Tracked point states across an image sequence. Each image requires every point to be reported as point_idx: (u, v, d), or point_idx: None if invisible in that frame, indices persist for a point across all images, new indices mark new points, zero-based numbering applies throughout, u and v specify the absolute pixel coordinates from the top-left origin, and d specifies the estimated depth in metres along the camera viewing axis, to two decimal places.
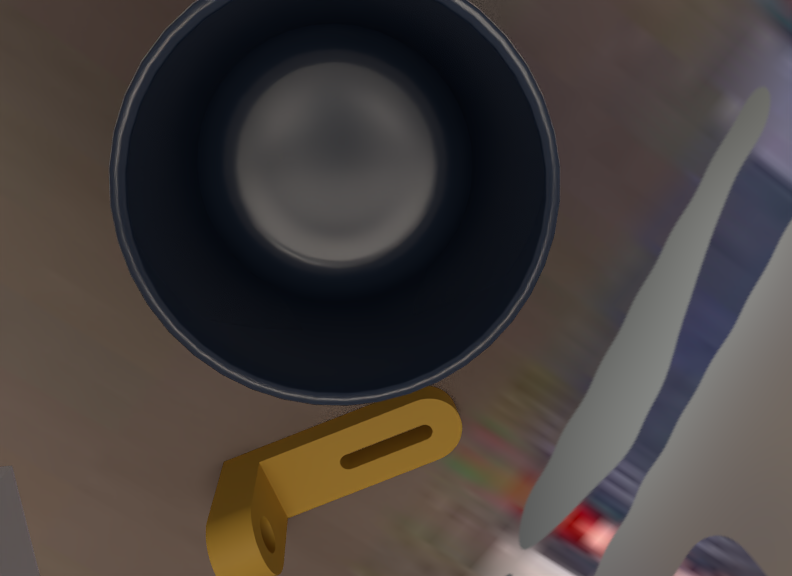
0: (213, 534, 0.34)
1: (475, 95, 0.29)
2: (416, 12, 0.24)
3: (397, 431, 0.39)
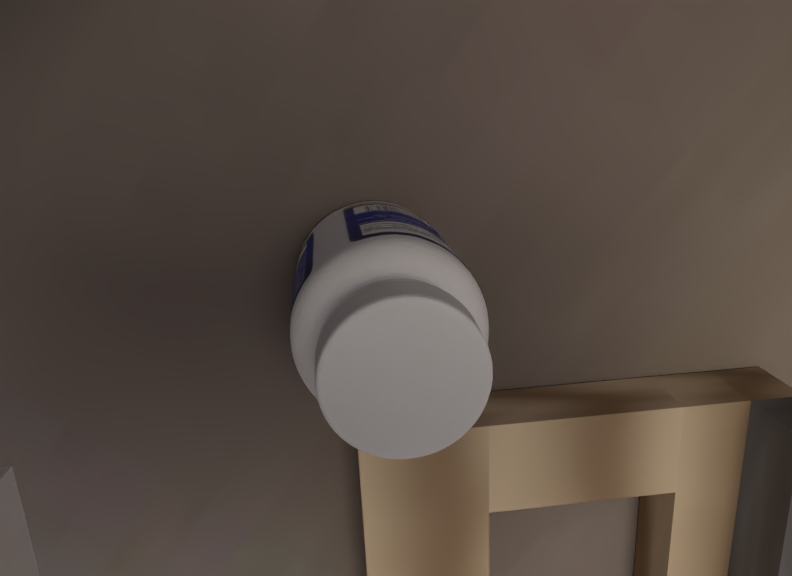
0: None
1: None
2: None
3: None
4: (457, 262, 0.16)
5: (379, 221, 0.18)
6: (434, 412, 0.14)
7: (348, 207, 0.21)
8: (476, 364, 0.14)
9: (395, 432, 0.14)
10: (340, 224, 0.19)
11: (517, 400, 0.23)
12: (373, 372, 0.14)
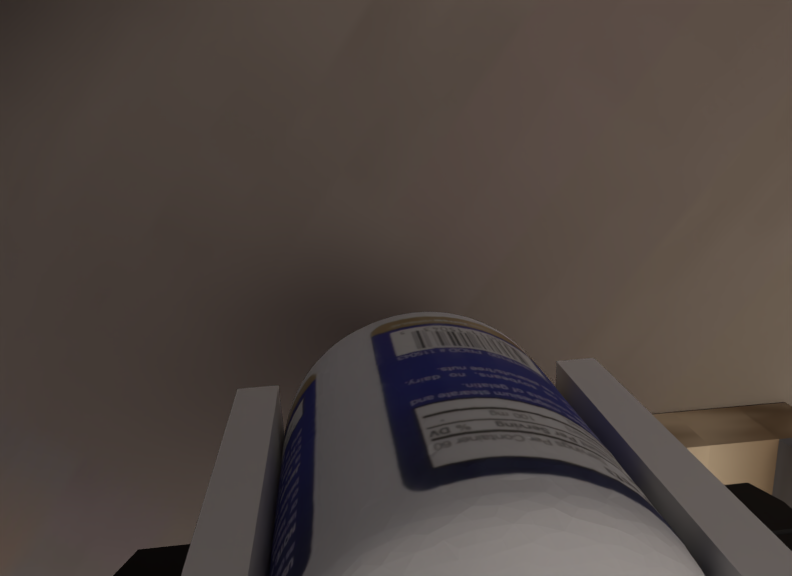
0: None
1: None
2: None
3: None
4: (672, 546, 0.06)
5: (457, 399, 0.08)
6: None
7: (380, 329, 0.11)
8: None
9: None
10: (369, 385, 0.09)
11: None
12: None
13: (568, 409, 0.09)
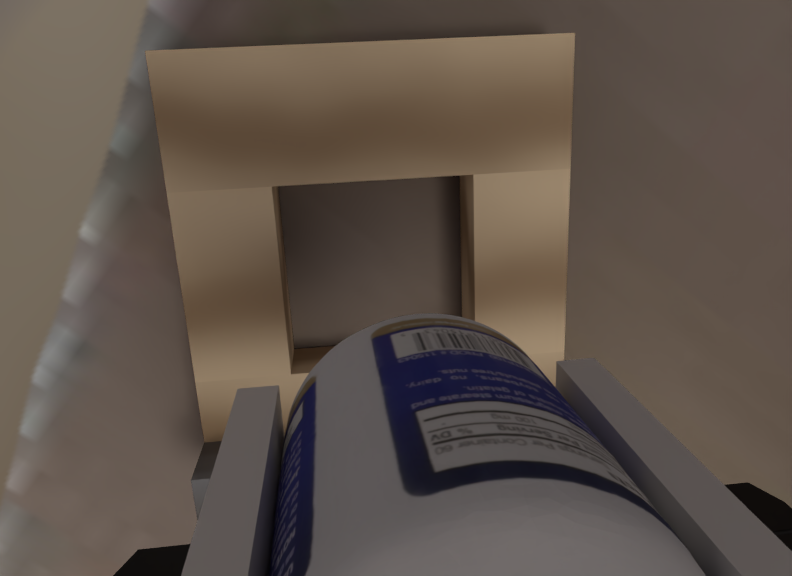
0: None
1: None
2: None
3: None
4: (676, 552, 0.06)
5: (459, 402, 0.08)
6: None
7: (381, 331, 0.11)
8: None
9: None
10: (370, 388, 0.09)
11: None
12: None
13: (570, 412, 0.09)
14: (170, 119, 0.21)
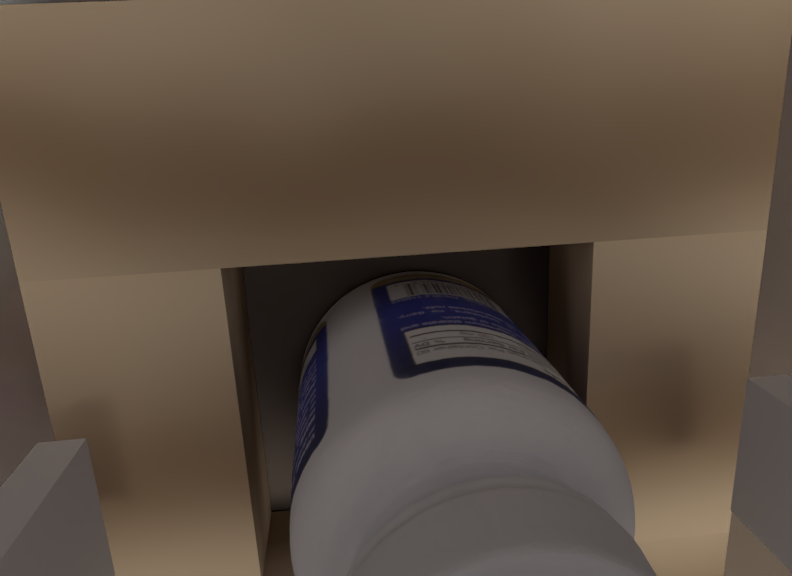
0: None
1: None
2: None
3: None
4: (586, 415, 0.09)
5: (436, 325, 0.11)
6: None
7: (378, 283, 0.14)
8: None
9: None
10: (370, 321, 0.12)
11: None
12: None
13: (525, 338, 0.12)
14: (17, 143, 0.11)
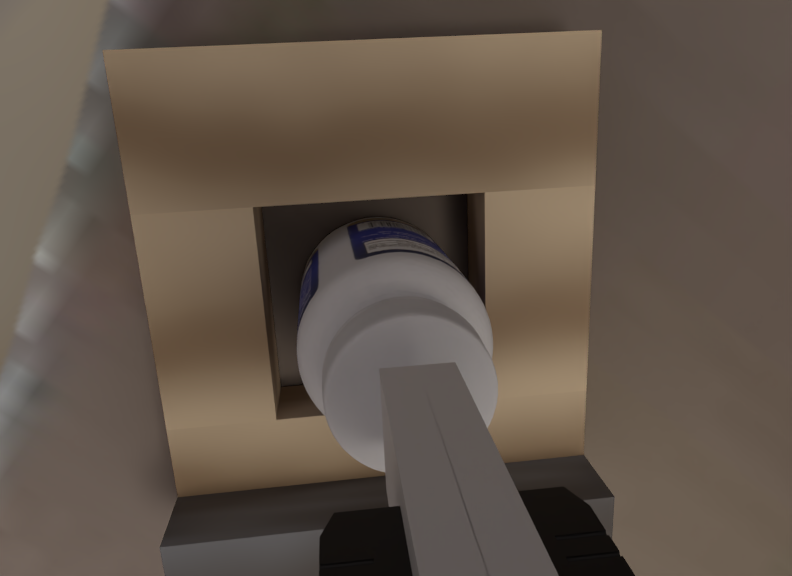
0: None
1: None
2: None
3: None
4: (461, 279, 0.16)
5: (383, 238, 0.18)
6: None
7: (352, 223, 0.21)
8: (481, 380, 0.14)
9: None
10: (344, 241, 0.19)
11: None
12: None
13: (440, 251, 0.19)
14: (133, 130, 0.18)
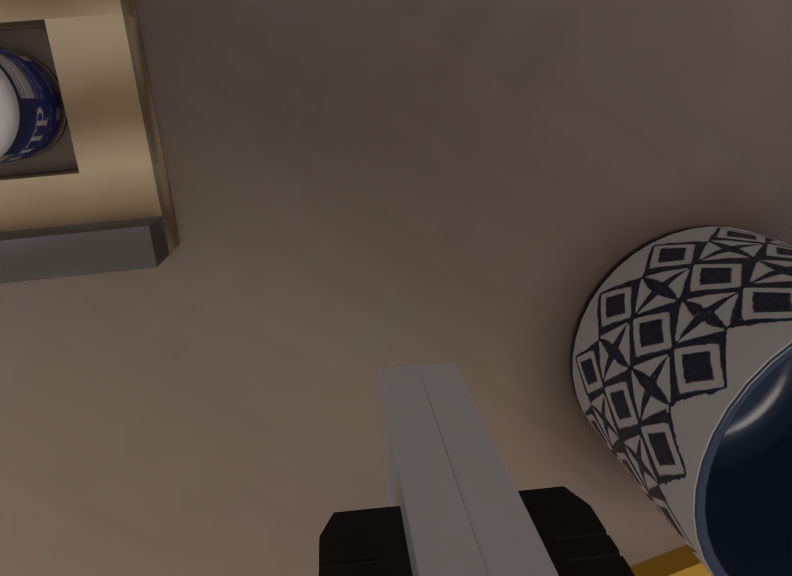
0: None
1: None
2: None
3: None
4: None
5: None
6: None
7: None
8: None
9: None
10: None
11: (138, 49, 0.31)
12: None
13: (10, 57, 0.29)
14: None
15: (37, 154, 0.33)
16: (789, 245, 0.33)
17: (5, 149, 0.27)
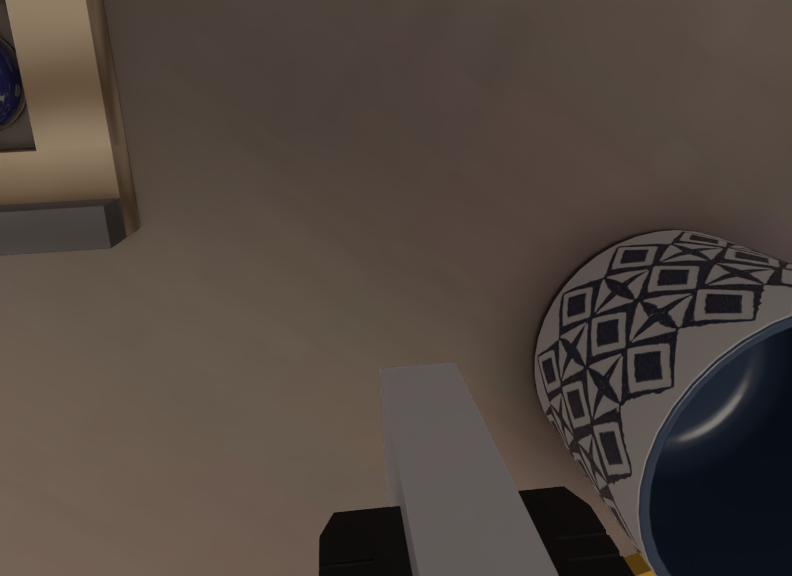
0: None
1: None
2: None
3: None
4: None
5: None
6: None
7: None
8: None
9: None
10: None
11: (101, 28, 0.31)
12: None
13: None
14: None
15: None
16: (749, 250, 0.33)
17: None
